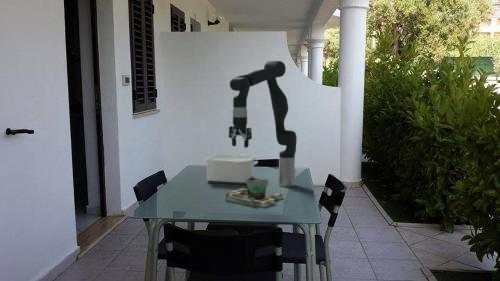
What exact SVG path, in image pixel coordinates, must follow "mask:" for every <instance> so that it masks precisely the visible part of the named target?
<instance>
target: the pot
mask: <svg viewBox="0 0 500 281" xmlns="http://www.w3.org/2000/svg"><path fill="white" fill-rule="evenodd" d="M256 157H257V155H254V154H242V153H241V154H240V153H214V154H212V155H210V156H208V157H205V158H204V161H203V162H204V163H205V164H206V179H207V182H208V183H210V184H211V183H212V184H213V183H214V184H226V183H227V184H228V185H230V184H231V185H245V184H246V183H245V182H246V179H247V180H251V179H252V178H253V176H254V174H255V173H254V170H255V168H254V167H255V166H256V165H257V164H258V163H259V160H256ZM227 184H226V185H227Z"/></svg>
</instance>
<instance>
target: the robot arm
mask: <svg viewBox="0 0 500 281" xmlns="http://www.w3.org/2000/svg"><path fill="white" fill-rule="evenodd" d="M286 69H287V68H286V65H285V63H284V61H281V60H271V61H270V60H269V61H266V62H265V63H264V67H263V69H259V70H257V69H256V70H253V71H252V72H248V73H247V74H242V75H238V76H235V77H233V78H231V80H230V81H229V87H230V89H231V90H232V91H235V92H239V93H238V95H235V96H233V99H232V125H230V126H228V138H230V139H231V146H232V147H237V137H238V136H241V137H242V138H243V140H244V141H243V143H244V145H243V147H244V149H245V148H247V149H248V147H249V145H250V144H249V141H250V140H252V138H253V136H252V134H253V133H252V127H247V125H248V107H247V106H248V105H247V104H248V96H249V92H250V88H251V87H253V86H255V85H258V84H261V83H263V82H265V81H266V84H267V85H268V91H269V95H270V103H271V108H272V113H273V118H274V124H275V135H276V142H277V144H279V145H280V146H285V149H284V150H282V151H280V152H278V153H279V154H278V155H279V158H278V163H279V164H278V186H280V187H284V188H285V187H287V188H288V187H289V188H290V187H294V186H295V185H296V169H295V167H296V166H295V163H296V162H295V160H296V159H295V158H296V156H295V155H296V152H297V139H298V138H297V133H296V132H295V131H294V130H286V129H285V128H286V127H285V119H286V117H287V115H288V112H289V104H288V103H289V102H288V98H287V96H286V94H285V92H284V91H283V90H282V89H281V87H280V86H279V83H278V81H277V78H281V77H283V76H284V75H285V74H286Z"/></svg>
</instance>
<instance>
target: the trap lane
mask: <svg viewBox="0 0 500 281" xmlns="http://www.w3.org/2000/svg"><path fill="white" fill-rule="evenodd" d="M224 194H225V199H224V200H225V201H227V202H232V203H235V204H240V205H243V206H244V205H245V206H248V207H253V208H254V207H261V208H265V207H268V206H272V205H275V201H277V200H280V199H283V193H282V192H279V193H276V194H272V195H268V196H265V197H264V198H263V199H262V200H263V201H262V200H260V199H255V198H250V199H246V198H243V196H242V195H247V196H248V193H247V188H239V189H235V190H231V194H230V192H229V191H227V192H225V193H224Z"/></svg>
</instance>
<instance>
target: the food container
mask: <svg viewBox="0 0 500 281" xmlns="http://www.w3.org/2000/svg"><path fill="white" fill-rule="evenodd" d="M268 183H269V182H268V178H267V177H266V178H265V179H253V180H251V179H249V180H247V179H246V182H245V184H246V189H247V193H248V195H247V198H248V199H251V198H255V200H263V198H264V197H266V192H267V190H266V189H267V184H268Z"/></svg>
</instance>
